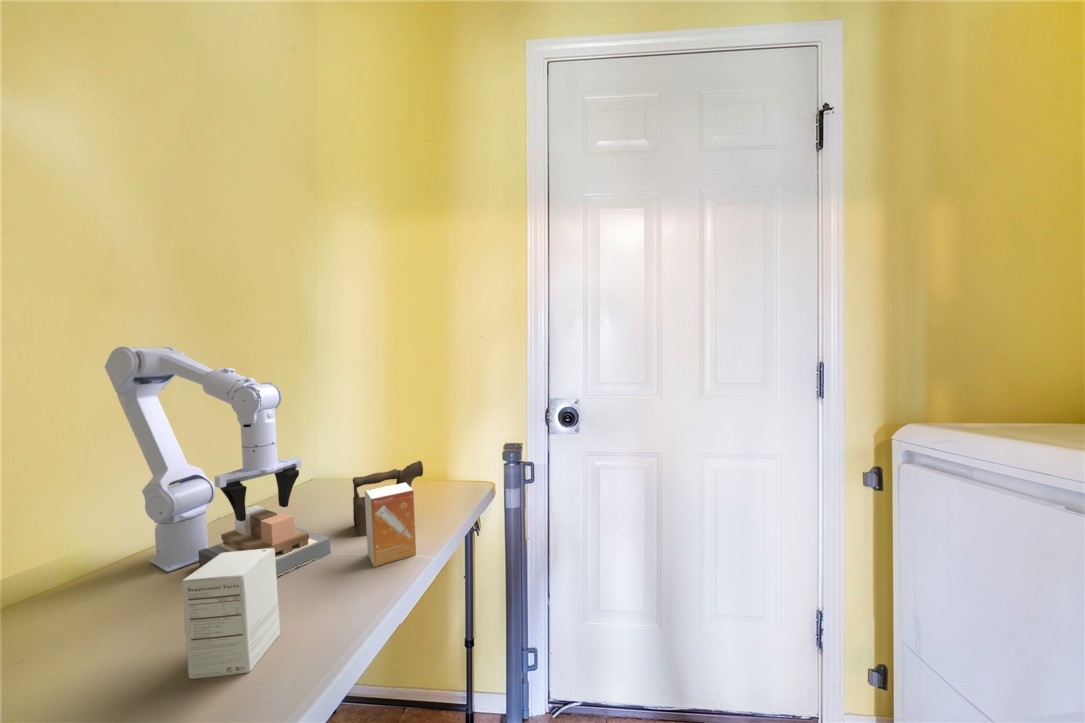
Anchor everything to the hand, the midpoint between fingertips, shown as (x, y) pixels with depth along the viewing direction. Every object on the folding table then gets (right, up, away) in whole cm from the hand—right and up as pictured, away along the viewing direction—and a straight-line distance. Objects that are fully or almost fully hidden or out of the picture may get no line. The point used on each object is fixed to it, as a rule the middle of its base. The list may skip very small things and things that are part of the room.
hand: (263, 512), depth 80 cm
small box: (+26, -8, 0) cm, 27 cm away
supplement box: (+15, -9, -27) cm, 32 cm away
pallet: (0, -6, 0) cm, 6 cm away
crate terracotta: (+5, -4, -3) cm, 7 cm away
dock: (+1, -9, 0) cm, 9 cm away
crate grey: (-4, -4, +3) cm, 7 cm away
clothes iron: (+19, -9, +15) cm, 26 cm away
